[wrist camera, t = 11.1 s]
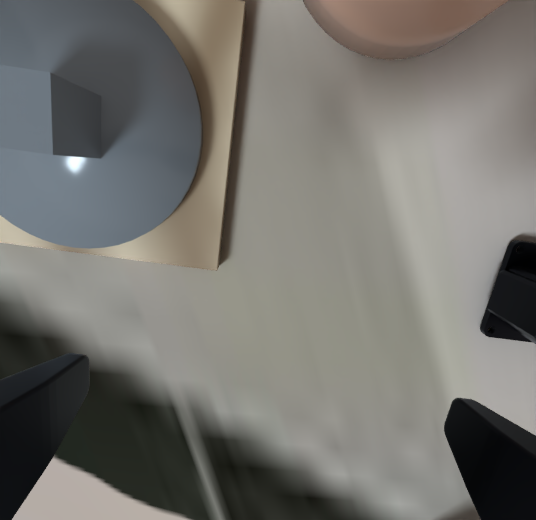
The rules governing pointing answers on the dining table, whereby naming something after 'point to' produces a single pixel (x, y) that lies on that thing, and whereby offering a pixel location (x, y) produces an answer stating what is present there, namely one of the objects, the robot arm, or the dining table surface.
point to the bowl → (397, 23)
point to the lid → (93, 121)
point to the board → (214, 137)
